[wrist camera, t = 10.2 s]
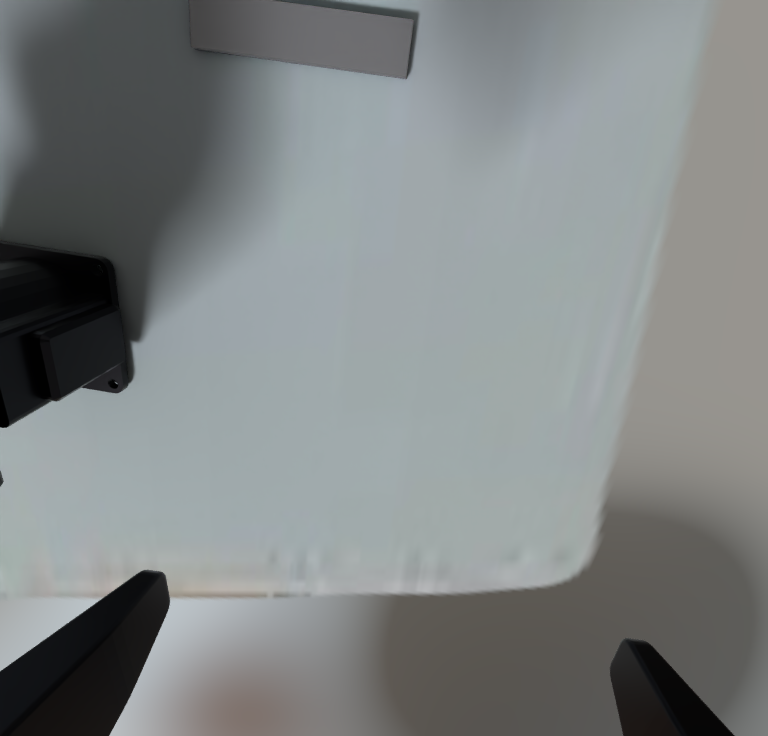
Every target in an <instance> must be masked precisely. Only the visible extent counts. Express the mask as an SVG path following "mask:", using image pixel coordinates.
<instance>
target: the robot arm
mask: <svg viewBox="0 0 768 736" xmlns="http://www.w3.org/2000/svg"><path fill="white" fill-rule="evenodd" d="M98 265H99V266H100V267H101V268H102V273H101V272H100V271H99V270H98V268H97V266H98ZM114 380H115V381H116V382H117V383H118V384H116V383H115V382H114ZM127 386H128V374H127V366H126V354H125V346H124V338H123V330H122V322H121V314H120V310H119V304H118V296H117V288H116V280H115V272H114V268H113V265H112V264H111V262H110V261H109V260H108V259H106V258H104V257H100V256H94V255H88V254H81V253H75V252H69V251H62V250H56V249H50V248H43V247H37V246H31V245H24V244H18V243H12V242H5V241H0V427H1V428H7V427H9V426H10V425H12V424H14V423H15V422H17V421H19V420H21V419H22V418H24V417H26V416H27V415H29V414H31V413H32V412H34V411H36V410H38V409H39V408H41V407H43V406H44V405H46V404H48V403H49V402H51V401H59V400H61V399H63V398H64V397H66V396H68V395H69V394H71V393H73V392H74V391H76V390H78V389H79V388H87V389H93V390H99V391H105V392H111V393H119V392H121V391H123V390H124V389H126V388H127ZM2 483H3V478H2V475H1V471H0V486H1V485H2ZM169 605H170V597H169V591H168V586H167V581H166V576H165V574H164V573H163V572H159V571H152V570H143V571H141V572H139V573H138V574H136V575H135V576H133V577H132V578H131V579H129V580H128V581H126V582H125V583H123V584H122V585H121V586H119V587H118V588H116V589H115V590H114V591H112V592H111V593H109V594H108V595H107V596H105V597H104V598H102V599H101V600H100V601H98V602H97V603H95V604H94V605H93V606H91V607H90V608H88V609H87V610H86V611H84V612H83V613H82V614H80V615H79V616H77V617H76V618H75V619H73V620H72V621H70V622H69V623H67V624H66V625H65V626H63V627H62V628H60V629H59V630H58V631H56V632H55V633H53V634H52V635H51V636H49V637H48V638H47V639H45V640H44V641H42V642H41V643H39V644H38V645H37V646H35V647H34V648H33V649H31V650H30V651H28V652H27V653H25V654H24V655H23V656H21V657H20V658H18V659H17V660H16V661H14V662H13V663H11V664H10V665H9V666H7V667H6V668H4V669H3V670H2V671H0V736H109V735H110V733H111V731H112V729H113V728H114V726H115V724H116V722H117V720H118V718H119V717H120V715H121V713H122V711H123V709H124V707H125V705H126V703H127V701H128V699H129V698H130V696H131V693H132V691H133V689H134V687H135V685H136V683H137V680H138V678H139V676H140V673H141V671H142V669H143V667H144V664H145V662H146V660H147V658H148V655H149V653H150V651H151V648H152V646H153V644H154V642H155V639H156V637H157V635H158V632H159V630H160V628H161V626H162V623H163V621H164V619H165V617H166V614H167V612H168V609H169ZM610 677H611V682H612V687H613V691H614V696H615V700H616V705H617V709H618V714H619V718H620V723H621V728H622V732H623V736H734V735H733V734H732V732H731V731H730V730H729V729H728V728H727V727H726V726H725V725H724V724H723V723H722V721H721V720H719V718H718V717H717V716H716V715H715V714H714V713H713V712H712V711H711V710H710V708H709V707H708V706H707V705H706V704H705V703H704V702H703V701H702V700H701V699H700V698H699V696H698V695H697V694H696V693H695V692H694V691H693V690H692V689H691V688H690V687H689V686H688V684H687V683H686V682H685V681H684V680H683V679H682V678H681V677H680V676H679V675H678V673H677V672H676V671H675V670H674V669H673V668H672V667H671V666H670V665H669V664H668V663H667V661H666V660H665V659H664V658H663V657H662V656H661V655H660V654H659V653H658V652H657V651H656V649H655V648H654V647H653V646H651V644H649V643H648V642H646V641H643V640H638V639H630V638H625V639H623V640H622V641H621V643H620V645H619V647H618V649H617V651H616V654H615V656H614V658H613V660H612V662H611V666H610Z"/></svg>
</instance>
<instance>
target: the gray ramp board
mask: <svg viewBox="0 0 768 736" xmlns="http://www.w3.org/2000/svg"><path fill="white" fill-rule="evenodd" d="M189 13H190V36H191V47H192V48H194V49H197V50H204V51H211V52H218V53H225V54H232V55H239V56H246V57H253V58H260V59H268V60H275V61H282V62H289V63H296V64H303V65H310V66H317V67H324V68H331V69H338V70H345V71H352V72H359V73H367V74H374V75H381V76H388V77H395V78H402V79H407V71H408V63H409V56H410V48H411V41H412V33H413V26H414V20H413V19H406V18H398V17H391V16H384V15H376V14H369V13H362V12H354V11H347V10H340V9H333V8H325V7H318V6H311V5H303V4H296V3H289V2H281V1H274V0H189Z"/></svg>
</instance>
